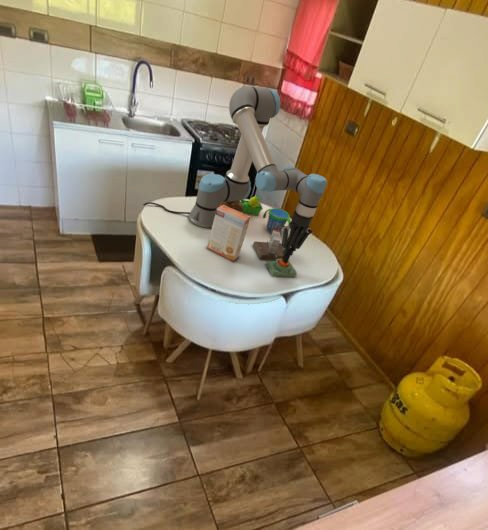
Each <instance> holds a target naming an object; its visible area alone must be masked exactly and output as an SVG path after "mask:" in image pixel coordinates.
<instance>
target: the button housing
mask: <svg viewBox="0 0 488 530" xmlns="http://www.w3.org/2000/svg"><path fill="white" fill-rule="evenodd" d="M266 261H267V262H266V264H265V265H266V268H267V269H268V270H269V273H270V275H271V276H272V277H293V278H294V277H296V276H297V273H298V272H297V270H296V269H295V267H294V266H293V265H292V263H291V262H290V261H289V265H288V267H283V266H281V265H279V264H278V262H279V259H276V260H266Z"/></svg>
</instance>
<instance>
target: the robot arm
mask: <svg viewBox="0 0 488 530" xmlns="http://www.w3.org/2000/svg"><path fill="white" fill-rule="evenodd" d="M280 109H281V98H280V95H279V93H278V92H277V90H276V89H274V88H269V87H266V86H265V87H264V86H263V87H261V86H250V85H244V86H241V87H239V88H237V89H236V90H234V92H233V93H232V95H231V97H230V99H229V105H228V110H229V116H230V118H231V121H232V123H233V124H235V125H237V128H238V130H239V133H240V137H239V141H238V144H237V147H236V151H235V154H234V158H233V161H232V163H231V167H230V169H229V170H227V171H226V173H225V175H224V176H223V175H221V174H218V173H217V174H216V173H208V174H205V175H204V176H202V177H201V179H200V182H199V184H198V190H197V195H196V199H195V204H194V206H193V207H192V209H191V210H190V212H189V211H175V210H170V209H168V208H166V207H165V206H164V205H162V204H159V203H157V202H151V201H149V202H144V203H143V204H142V205H143V206H146V205H154V206H158V207H161V208H162V209H164V210H165V211H166V212H168V213H172V214H180V215H182V214H183V215H184V214H185V215H188V219H189V221H190V222H191V223H192V224H193V225H195V226H197V227H200V228H204V229H212V226H213V222H214V218H215V214H216V210H217V208H218V207H219V204H220V202H230V201H241V200H246V199H247V198H248V197H249V196H250V193H251V191H252V186H251V185H252V183H251V180H250V176H249V172H250V168H251V166H252V164H253V166H254V168H255V170H256V172H257V174H256V176H255V178H254V180H255V186H256V189H257V190H258V191H260V192H267V193H271V192H277V191H279V192H280V191H291V190H292V191H294V192H295V193H296V194H298V195H300V196H299V198H298V202H297V204H296V207H295V210H294V212H293V214H292V216H291V222H290V223H289V222H288V225H284V226H283V227H282V228H283V229H282V239H281V244H282V246H283V247H284V252H283V254H284V255H283V258H282V260H283V261H284V263H288V261H289V260H290V258H291V256H293V254H294V252H296V251H297V250H299V249H300V248H301V247H303V244H304V243H305V241H306V240H307V238H308V237H309V236H310V235H311V234H312V233H313V229H312V228H311V227H310V225H311V223H312V220H313V217H314V216H315V213H316V211H317V209H318V206H319V202H320V201H321V199H322V197H323V195H324V193H325V190H326V188H327V184H328V180H327V179H326V178H325V176H322V175H320V174H317V173H310V174H309V175H308V174H306V173H305V172H303V171H301V170H300V169H298V168H297V167H294V166H287V167H286V168H284V169H282V170H279V168H278V167H277V165H276V162H275V160H274V158H273V155H272V152H271V150H270V149H269V146H268V144H267V141H266V139H265V137H264V135H263V130H264V128H265V127H267V126H268V125H269V123H270V121H271V119H273V118H275V117H276V116H277V115H278V114H279V112H280ZM132 259H135V252H132Z"/></svg>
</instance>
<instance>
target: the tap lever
mask: <svg viewBox="0 0 488 530" xmlns="http://www.w3.org/2000/svg"><path fill="white" fill-rule="evenodd" d="M268 242H269V253H271V254H275V253H276V250H277V248H278V245H279V243H281V232H280V231H278V230H273V232H271V236H270V238H269V241H268Z"/></svg>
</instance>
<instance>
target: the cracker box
mask: <svg viewBox="0 0 488 530" xmlns="http://www.w3.org/2000/svg"><path fill="white" fill-rule="evenodd" d="M251 218H252V217H251V215H249V214H243V213H241V212H239V211H237V210H234V209H232V208H230V207H228V206H226V205H222V206H220V207H218V208H217V210H216V214H215V218H214V222H213V226H212V228H211V229H210V234H209V238H208V242H207V246H206V248H207V249H208V250H210V251H212V252H214V253H215V254H218V255H219V256H222V257H224V258H225V259H228V260H229V261H231V262H234V261H235V260H236V259H238V258H239V256H240V254H241V251H242V247H243V244H244V241H245V238H246V234H247V231H248V228H249V225H250V222H251Z"/></svg>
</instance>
